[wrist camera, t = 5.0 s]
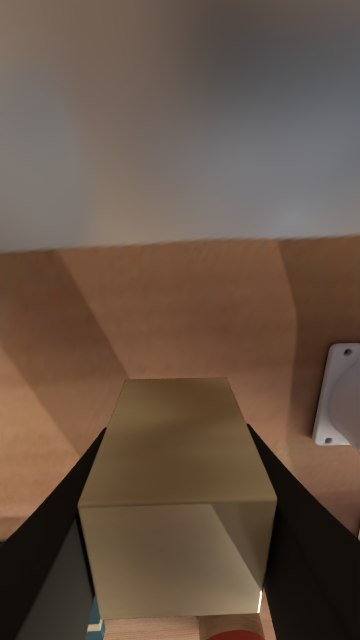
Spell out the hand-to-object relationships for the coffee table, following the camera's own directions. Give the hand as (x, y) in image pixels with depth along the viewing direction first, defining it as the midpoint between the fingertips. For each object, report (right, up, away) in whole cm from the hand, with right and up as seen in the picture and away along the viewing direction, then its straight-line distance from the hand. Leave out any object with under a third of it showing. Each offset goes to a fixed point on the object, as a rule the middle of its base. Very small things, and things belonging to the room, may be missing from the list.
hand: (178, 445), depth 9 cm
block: (0, 0, +1) cm, 1 cm away
